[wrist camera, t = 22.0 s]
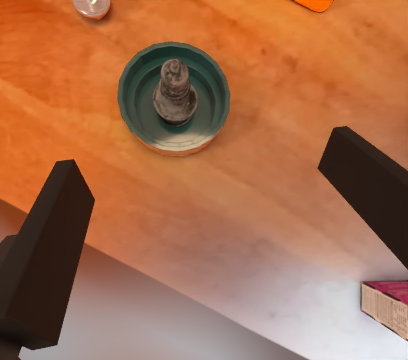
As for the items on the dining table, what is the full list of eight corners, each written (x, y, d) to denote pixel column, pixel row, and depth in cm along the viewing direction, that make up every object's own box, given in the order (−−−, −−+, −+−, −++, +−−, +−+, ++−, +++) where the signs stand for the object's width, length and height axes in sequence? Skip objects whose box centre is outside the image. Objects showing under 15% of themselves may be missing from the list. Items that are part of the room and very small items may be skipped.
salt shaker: (147, 104, 32) (129, 54, 20) (179, 81, 33) (180, 20, 21) (172, 136, 33) (168, 106, 21) (203, 113, 33) (217, 71, 21)
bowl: (149, 48, 33) (144, 23, 28) (235, 87, 35) (245, 70, 30) (111, 134, 32) (99, 124, 27) (202, 171, 34) (206, 168, 29)
